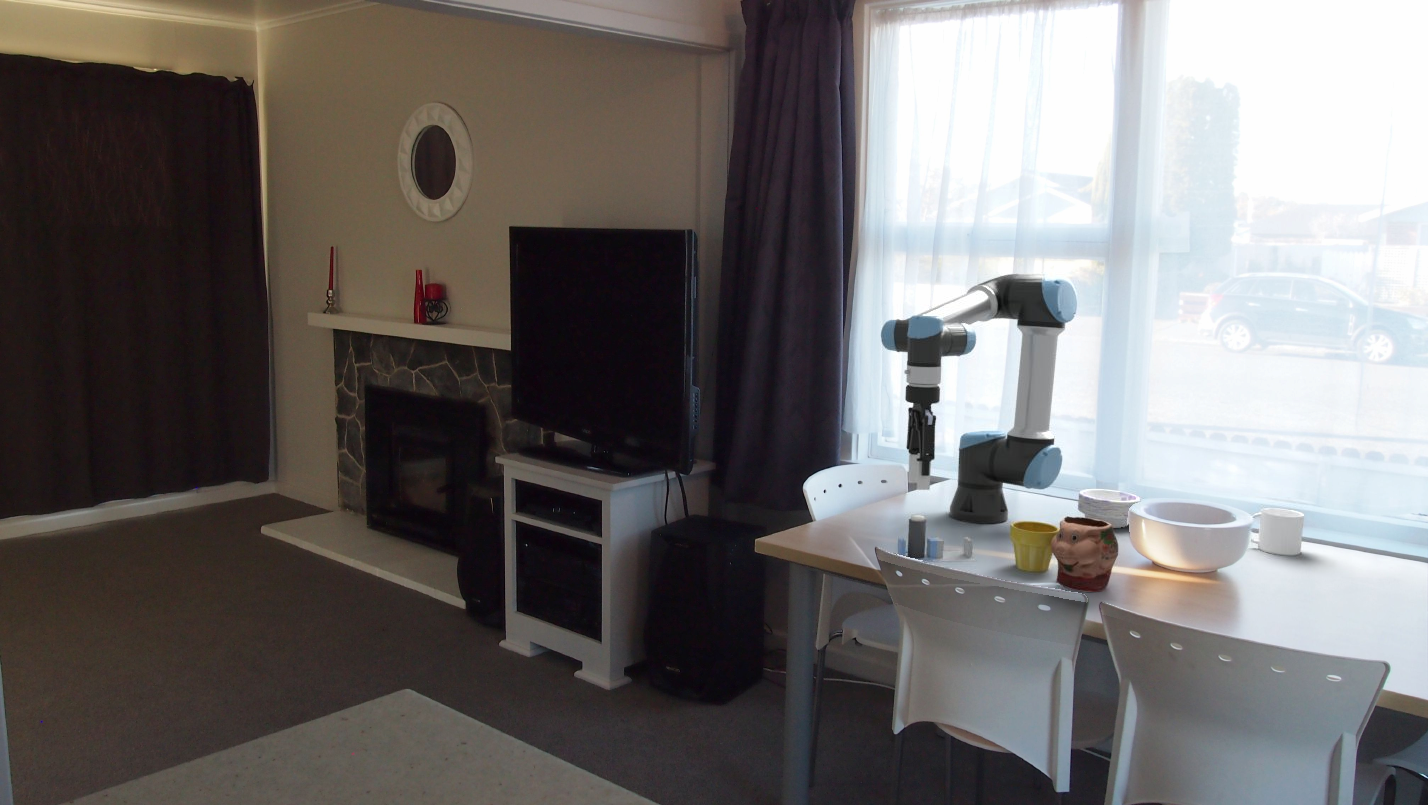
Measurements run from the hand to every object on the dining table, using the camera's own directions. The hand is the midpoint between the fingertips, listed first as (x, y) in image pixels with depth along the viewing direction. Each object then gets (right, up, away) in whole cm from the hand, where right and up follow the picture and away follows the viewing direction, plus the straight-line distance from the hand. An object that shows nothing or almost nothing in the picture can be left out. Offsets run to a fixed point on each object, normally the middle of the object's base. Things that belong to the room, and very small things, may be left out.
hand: (918, 485), depth 230 cm
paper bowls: (+57, -13, +37) cm, 69 cm away
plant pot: (+24, -18, -5) cm, 31 cm away
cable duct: (+4, -17, +3) cm, 18 cm away
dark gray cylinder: (0, -16, +2) cm, 16 cm away
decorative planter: (+32, -20, -15) cm, 41 cm away
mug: (+88, -17, +15) cm, 91 cm away
